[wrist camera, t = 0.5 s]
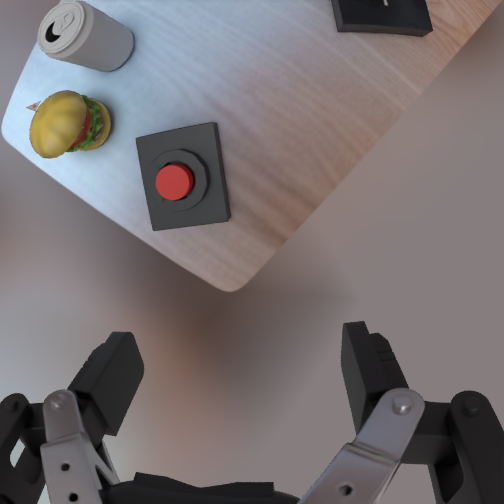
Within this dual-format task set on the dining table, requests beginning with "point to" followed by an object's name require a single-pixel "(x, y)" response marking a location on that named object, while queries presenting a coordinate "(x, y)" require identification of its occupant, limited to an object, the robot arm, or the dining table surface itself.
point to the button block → (203, 171)
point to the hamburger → (68, 124)
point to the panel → (383, 16)
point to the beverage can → (84, 37)
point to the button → (174, 181)
